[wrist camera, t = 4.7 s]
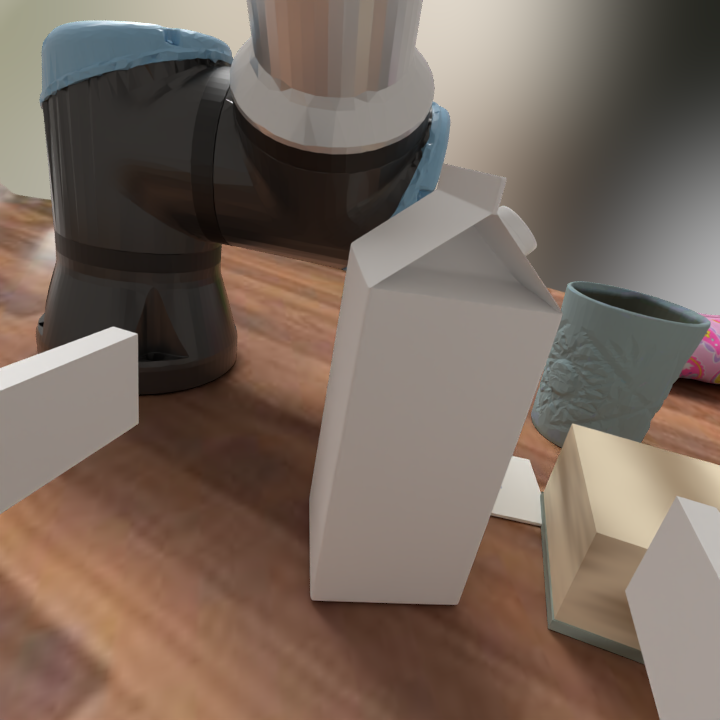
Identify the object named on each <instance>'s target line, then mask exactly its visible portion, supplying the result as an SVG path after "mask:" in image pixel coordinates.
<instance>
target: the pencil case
mask: <svg viewBox="0 0 720 720" xmlns="http://www.w3.org/2000/svg"><path fill="white" fill-rule="evenodd" d="M698 314H700V313H698ZM700 315H702V316H704V317H706V318H707V319H708V320H709V321H710V322H711V325H710V328H709V329H708V331H707V332H706V334H705V336H704V337H703V339H702V340H701V342H700V344H699V345H698V347H697V349H696V350H695V351H694V353H693V354H692V356H691V357H690V359H689V360H688V361H687V362H686V364H685V365H684V367H683V369H682V371H681V373H680V375H679V378H688V379H695V380H698V381H703V382H707V383H713V384H720V315H706V314H700Z"/></svg>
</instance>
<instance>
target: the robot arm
mask: <svg viewBox="0 0 720 720" xmlns="http://www.w3.org/2000/svg"><path fill="white" fill-rule="evenodd" d="M422 2H423V0H247V5H248V13H249V21H250V29H251V37H250V38H249V39H248V40H247V41H246V42H245V43H244V44H243V46H242V47H241V48H240V49H239V51H238V52H237V54H236V56H235V57H234V59H233V57H232V53H231V50H230V48H229V47H228V45H227V44H226V43H224V42H223V41H221V40H219V39H217V38H214V37H212V36H209V35H205V34H202V33H198V32H195V31H191V30H186V29H178V28H166V27H162V26H160V25H155V24H148V23H139V22H126V21H78V22H71V23H67V24H63V25H60V26H58V27H56V28H55V29H53V31H52V32H51V33H50V34H49V35H48V36H47V38H46V39H45V40H44V42H43V46H42V93H41V95H40V106H41V108H42V109H43V113H44V122H45V134H46V144H47V155H48V165H49V176H50V188H51V199H52V210H53V222H54V230H55V243H56V264H55V268H54V271H53V275H52V279H51V282H50V286H49V290H48V295H47V300H46V307H45V313H44V314H43V315H42V316H41V318H40V319H39V321H38V325H37V328H36V342H37V351H38V354H37V355H35V356H32V357H29V358H27V359H24V360H21V361H18V362H16V363H13V364H10V365H8V366H5V367H2V368H0V514H1V513H3V512H4V511H6V510H7V509H9V508H10V507H12V506H13V505H15V504H17V503H18V502H20V501H21V500H23V499H24V498H26V497H27V496H29V495H30V494H32V493H33V492H35V491H36V490H38V489H39V488H41V487H43V486H44V485H46V484H47V483H49V482H50V481H52V480H53V479H55V478H56V477H58V476H59V475H61V474H62V473H64V472H65V471H67V470H69V469H70V468H72V467H73V466H75V465H76V464H78V463H79V462H81V461H82V460H84V459H85V458H87V457H88V456H90V455H91V454H93V453H95V452H96V451H98V450H99V449H101V448H102V447H104V446H105V445H107V444H108V443H110V442H111V441H113V440H114V439H116V438H118V437H119V436H121V435H122V434H124V433H125V432H127V431H128V430H130V429H131V428H133V427H134V426H136V425H137V424H139V398H138V394H158V393H167V392H174V391H180V390H185V389H189V388H193V387H196V386H200V385H203V384H205V383H208V382H210V381H213V380H215V379H217V378H219V377H220V376H222V375H223V374H225V373H226V372H227V371H228V370H229V369H230V368H231V367H232V366H233V364H234V362H235V359H236V350H237V330H236V326H235V324H234V320H233V316H232V312H231V308H230V304H229V300H228V297H227V293H226V289H225V286H224V282H223V278H222V275H221V248H222V244H225V245H230V246H236V247H241V248H246V249H250V250H255V251H260V252H265V253H269V254H274V255H279V256H283V257H288V258H293V259H297V260H302V261H307V262H311V263H316V264H321V265H325V266H330V267H335V268H340V269H342V270H344V271H347V265H348V259H349V252H350V246H351V243H352V242H354V241H355V240H357V239H358V238H360V237H362V236H363V235H365V234H366V233H368V232H370V231H371V230H373V229H374V228H376V227H377V226H379V225H381V224H382V223H384V222H385V221H387V220H389V219H390V218H392V217H393V216H395V215H397V214H398V213H400V212H401V211H403V210H405V209H406V208H408V207H409V206H411V205H413V204H414V203H416V202H417V201H419V200H420V199H422V198H424V197H425V196H427V195H428V194H430V193H432V192H433V191H434V190H435V187H436V185H437V182H438V180H439V176H440V173H441V169H442V165H443V162H444V157H445V153H446V149H447V144H448V139H449V130H450V116H449V113H448V112H447V110H446V109H444V108H443V107H441V106H439V105H438V104H436V103H435V102H433V97H434V80H433V75H432V72H431V69H430V67H429V65H428V63H427V62H426V60H425V59H424V57H423V56H422V54H421V53H420V52H419V51H418V50H417V48H416V47H415V44H416V37H417V32H418V26H419V20H420V14H421V8H422ZM625 593H626V596H627V600H628V604H629V607H630V611H631V615H632V618H633V622H634V626H635V630H636V633H637V637H638V641H639V644H640V648H641V652H642V655H643V659H644V663H645V667H646V670H647V674H648V678H649V681H650V685H651V689H652V693H653V696H654V700H655V704H656V707H657V711H658V715H659V718H660V720H720V512H719V511H718V509H717V508H716V507H712V506H709V505H706V504H702V503H699V502H696V501H692V500H689V499H686V498H682V497H679V496H676V498H675V500H674V501H673V503H672V505H671V507H670V509H669V511H668V513H667V514H666V516H665V518H664V520H663V522H662V524H661V525H660V527H659V529H658V531H657V533H656V535H655V537H654V538H653V540H652V542H651V544H650V546H649V548H648V549H647V551H646V553H645V555H644V557H643V559H642V561H641V562H640V564H639V566H638V568H637V570H636V572H635V573H634V575H633V577H632V579H631V581H630V583H629V585H628V586H627V588H626V590H625Z"/></svg>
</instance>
